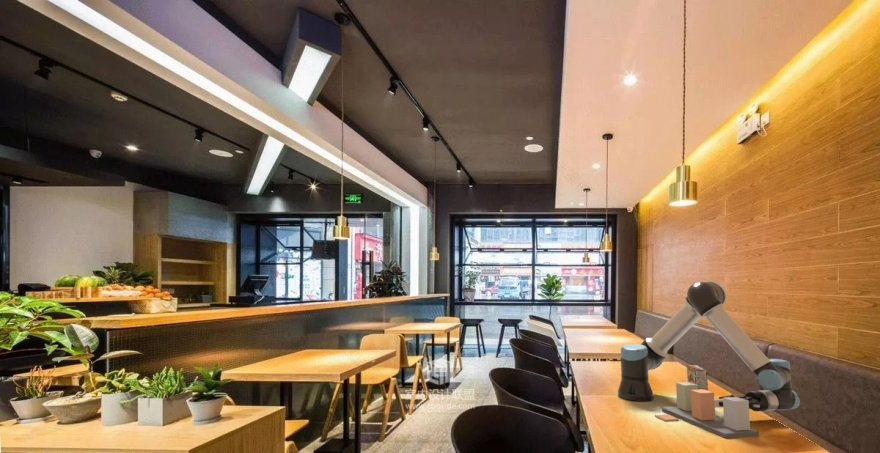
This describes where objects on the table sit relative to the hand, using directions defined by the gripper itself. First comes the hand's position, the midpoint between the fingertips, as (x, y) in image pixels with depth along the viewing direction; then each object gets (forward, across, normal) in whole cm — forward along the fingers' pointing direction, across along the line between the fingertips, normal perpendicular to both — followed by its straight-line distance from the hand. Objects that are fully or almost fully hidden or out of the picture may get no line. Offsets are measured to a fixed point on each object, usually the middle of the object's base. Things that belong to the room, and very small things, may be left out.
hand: (710, 403), depth 175 cm
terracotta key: (+3, 0, -5) cm, 6 cm away
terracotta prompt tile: (+14, +7, -7) cm, 17 cm away
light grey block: (0, -12, -5) cm, 13 cm away
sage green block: (0, +12, -5) cm, 13 cm away
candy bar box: (-12, +20, -7) cm, 24 cm away
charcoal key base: (+2, 0, -7) cm, 7 cm away
